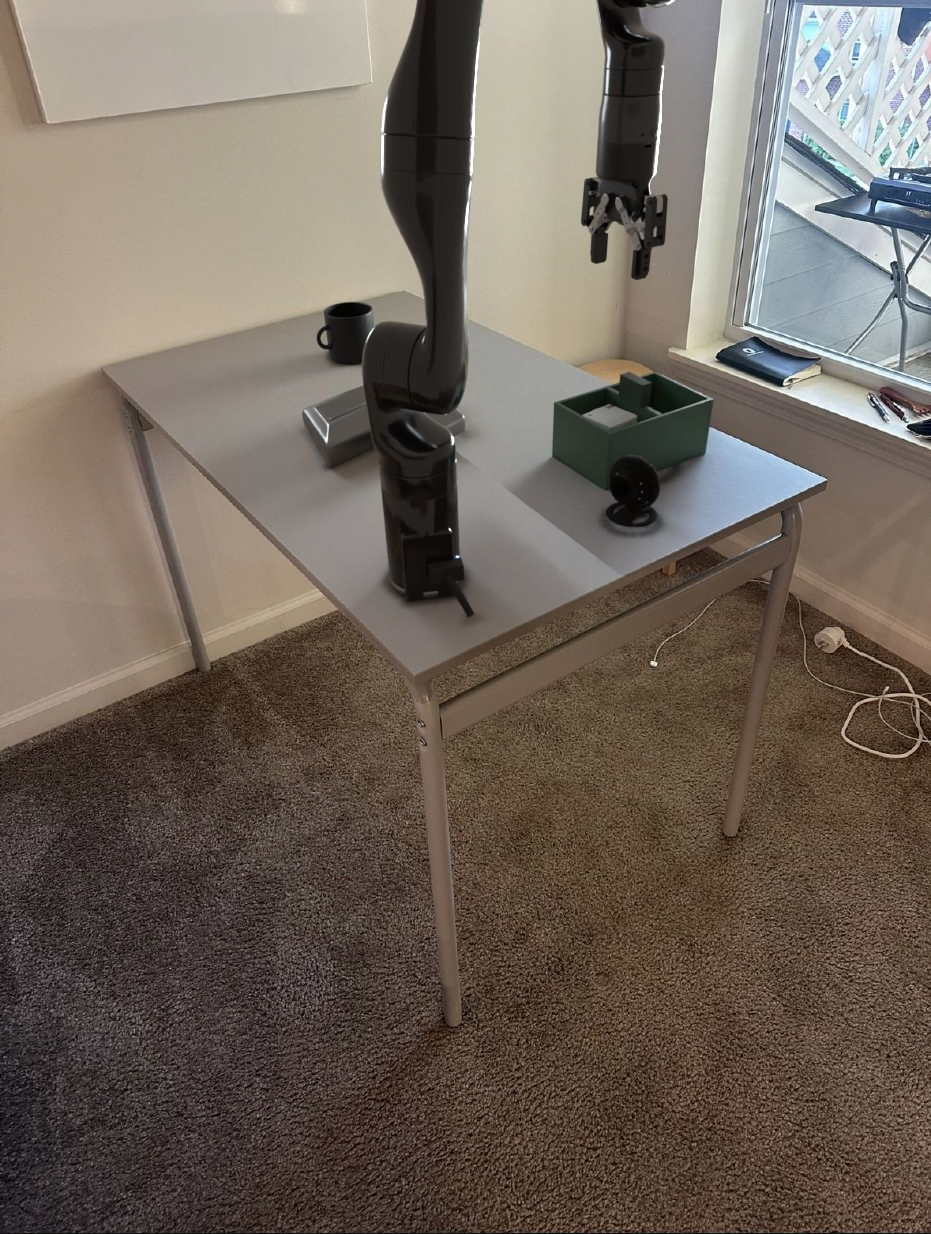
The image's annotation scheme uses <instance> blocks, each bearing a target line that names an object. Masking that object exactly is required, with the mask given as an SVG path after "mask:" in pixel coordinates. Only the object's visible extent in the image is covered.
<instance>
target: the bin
mask: <svg viewBox="0 0 931 1234" xmlns="http://www.w3.org/2000/svg"><path fill="white" fill-rule="evenodd" d="M714 401H715V399H714V398H712V397H710V396H708V395H706V394H704V393H701V392H700V391H698V390H695V389H693V388H692V387H690V386H689V387H688V386H687V385H684V384H683V383H681V382H679V381H676V380H673V379H672V378H670V377H668V376H665V375H664V374H661V373H660V372H658V371H652V372H648V373H645V374H642V375H637V374H636V373H633V372H631V371H627V372H624V373H620V374H619V382H616V383H613V384H610V385H606V386H603V387H600V388H596V389H593V390H590V391H587V392H584V393H580V394H578V395H574V396H570V397H567V398H564V399H561V400H558V401H555V402H553V420H552V445H551V446H552V447H551V451H552V452H551V457H553V458H554V459H556V460H557V461H558V462H560V463H561V464H563V465H565V466H566V467H568V468H570V470H573V471H574V472H576V473H577V474H578V475H581V476H582V477H584V478H585V479H586V480H588V481H590V482H591V483H593V484H595V485H596V486H598V487H599V488H601V489H602V490H604V491H607V490H610V471H611V468H612V466H613V464H614V463H615V462H616V461H617V460H618V459H619V458H620V457H622V456H625V455H637V456H641V457H643V458H644V459H646V460H647V461H648V462H649V463H650V464H652V465H653V466H654V468H655V470H656V471H657V472H660V471H661V470H662V471H663V470H664V469H666V468H667V469H668V468H670V467H673V466H675V465H678V464H681V463H684V462H687V461H688V460H692V459H695V458H698V457H700V456H703V455H705V454H706V453H707V446H708V439H709V431H710V426H711V420H712V414H713V408H714V407H713V406H714ZM608 404H611V405H613V406H615V407H618V408H620V409H623V410H625V411H628V412H630V413H633V414H635V415H637V423H635V424H632V425H629V426H626V427H623V428H620V429H617V430H614V431H611V432H610V431H608V430H606V429H605V428H603V427H601V426H599V425H598V424H596V423H594V422H592V421H590V420H589V419H587V418H585V417H583V416H582V415H583V414H586V413H588V412H591V411H592V410H594V409H597V408H601V407H603V406H606V405H608Z"/></svg>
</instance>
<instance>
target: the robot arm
mask: <svg viewBox="0 0 931 1234" xmlns="http://www.w3.org/2000/svg"><path fill="white" fill-rule="evenodd" d="M674 1H675V0H595V3H596V9H597V15H598V16H597V17H598V21H599V28H600V36H601V40H602V45H603V52H604V59H603V60H604V62H603V73H602V74H603V77H602V90H601V91H602V93H601V102H600V107H599V113H598V124H597V125H598V126H597V127H598V128H597V143H596V144H597V145H596V159H595V160H596V161H595V175H596V176H593V177H588V178H585V179H584V181H583V190H582V191H583V192H582V203H581V216H580V225H581V226H582V227H587V228H588V232H589V234H590V249H589V250H590V251H589V252H590V253H589V254H590V262H591V263H592V264H594V265H598V264H602V263H605V262H606V261H607V259H608V246H609V245H608V244H609V233H608V231H609V229H610V227H611V226H612V224H613V223H615V222H616V223H617V224H618V225H620V226H623V227H624V230H625V233H626V234H627V235H629V236H630V238H631V242H632V243H633V244H632V245H633V247H634V249H632V260H631V271H630V278H631V279H632V280H635V281H639V280H643V279H646V278H647V277H648V275H649V272H650V266H651V255H652V250H653V249H654V248H657V247H662V246H664V245H665V244H666V235H667V233H666V232H667V219H668V218H667V217H668V203H669V202H668V201H669V199H668V195H667V194H665V193H662V194H652V193H651V189H650V184H651V181H652V179H653V178H655V177H656V174H657V167H658V157H659V146H660V136H661V127H662V126H661V124H662V107H663V105H662V92H663V84H664V83H663V81H664V70H665V60H666V58H665V57H666V45H665V40H664V39H663V37H661V35H658V34H656V33H654V32H652V31H650V30H648V29H647V28H646V27H645V26H644V24H643V20H642V15H641V11H640V8H642V9H659V8H664V7H666V6H668V5H670V4H672V3H673V2H674ZM484 2H485V0H416V3H415V4H416V5H415V10H414V16H413V20H412V23H411V27H410V30H409V33H408V36H407V39H406V42H405V45H404V46H403V49H402V52H401V55H400V58H399V60H398V62H397V65H396V67H395V70H394V72H393V75H392V78H391V80H390V83H389V85H388V89H387V92H386V96H385V99H384V102H383V106H382V113H381V125H380V134H381V135H380V184H381V185H380V186H381V192H382V196H383V198H384V201H385V204H386V207H387V209H388V212H389V213H390V216H391V218H392V220H393V222H394V225H395V226H396V229H397V230H398V233H399V234H400V237H401V238H402V240H403V242H404V244H405V246H406V248H407V250H408V252H409V254H410V256H411V258H412V260H413V263H414V265H415V268H416V270H417V273H418V276H419V279H420V283H421V287H422V293H423V301H424V312H425V313H424V314H425V324H420V323H412V322H406V321H398V320H383V321H380V322H378V323H376V324H374V327H373V328H372V330H371V331H370V333H369V335H368V337H367V339H366V342H365V346H364V350H363V357H362V362H361V372H362V373H361V376H362V386H364V394H365V400H366V406H367V412H368V418H369V424H370V432H371V438H372V442H373V445H374V448H373V449H375V452H376V454H377V459H378V468H379V480H380V491H381V501H382V511H383V521H384V522H383V523H384V531H385V532H384V533H385V544H386V554H387V561H388V581H389V582H388V583H389V585H390V587H391V588H392V589H393V591H394V592H396V593H398V594H399V595H401V596H404V597H405V599H406V602H414V601H420V600H421V601H422V600H428V599H436V598H443V597H449V596H454V597H455V599H456V600H457V602H458V603H459V605H460V606H461V608H462V610H463V612H464V613H465V615H466V617H467V618H470V617H472V616H474V615H475V611H474V610H473V608H472V606H471V605H470V603H469V602H468V599H467V597H466V596H465V595H464V593H463V591H462V590H461V588H460V587H459V585H460V583H461V582H462V581H465V565H464V561H463V559H462V557H461V549H460V521H459V496H458V468H457V467H458V465H457V464H458V463H457V443H456V439H455V437H454V436H453V435H452V433H451V432H450V431H449V430H448V429H447V428H446V427H444V426H443V425H441V424H439V423H438V422H436V421H435V420H433V419H432V418H430V417H429V416H428V415H427V414H426V413H430V414H437V415H448V414H450V413H452V412H454V411H455V410H456V409H457V408H459V406H460V404H461V403H462V400H463V397H464V394H465V391H466V388H467V381H468V373H469V358H470V357H469V355H470V354H469V344H470V343H469V342H470V341H469V306H468V249H469V248H468V247H469V230H470V229H469V227H470V213H471V200H472V187H473V176H474V159H475V158H474V156H475V139H476V138H475V137H476V136H475V135H476V133H475V132H476V99H477V98H476V97H477V85H478V73H479V72H478V71H479V58H480V57H479V56H480V43H481V32H482V20H483V10H484ZM591 208H593V209H592V214H591ZM639 220H641V222H638V221H639ZM655 229H656V231H655ZM654 232H656V233H654ZM641 233H642V236H643V238H642V236H641ZM654 235H655V236H654Z"/></svg>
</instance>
